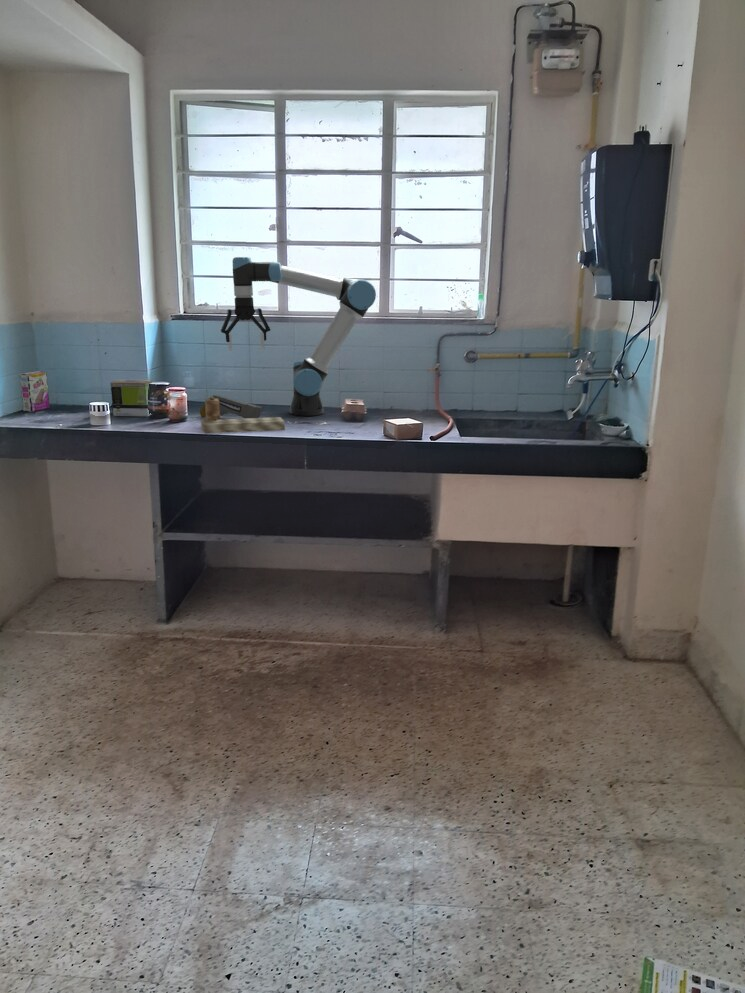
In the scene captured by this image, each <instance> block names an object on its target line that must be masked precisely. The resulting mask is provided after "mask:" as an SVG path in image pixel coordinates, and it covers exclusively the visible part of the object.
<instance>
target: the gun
mask: <svg viewBox="0 0 745 993" xmlns="http://www.w3.org/2000/svg"><path fill="white" fill-rule="evenodd" d="M211 397H214V399H218V400H219V407H220V417H223V416H224V415H227V414H229V413H230V414H232V415H236V416H238V417H242V419H245V418H260V416H261V413H262V411H263V407H262V406H260V405H256V404H253V403H249V402H248V403H245V402H243V401H240V400H236V399H232V398H229V397H225V396H223V395H219V394H213V395H212V396H211ZM207 399H210V397H208V398H207ZM199 415H200V416H201V417H202V418H206V409H205V403H204V404H203V405H202V407H201V408H200V411H199Z"/></svg>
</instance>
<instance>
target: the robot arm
mask: <svg viewBox="0 0 745 993" xmlns="http://www.w3.org/2000/svg"><path fill="white" fill-rule="evenodd" d="M232 277H233V278H232V280H233V294H234V297H235V298H234V309H230V308H228V309H227V310H226V311H227V312H226V313H227V314H226V316H225V318H224V321H223V325H222V327H221V329H220V332H221V333H222V334H224V335H225V341H226V342H227V343H228V350H229V351H233V345H232V344H233V342H232V334H231V332H232V330H234V328H235V326H236V325H237V323H238V322H239V321H252V323H254V324H255V325H256V326H257V327H258V328H259V330H260V331H261V332H260V344H261V345H260V348H261V349H262V350H265V341H267V332H270V331H271V328H270V326H269V324H268V322H267V320H266V318H265V317H264V314H263V311H262V308H255V307H254V298H253V296H254V291H253V282H270V283H275V284H280V285H284V286H287V287H292V288H297V289H300V290H301V289H302V290H305V291H310V292H314V293H317V294H321V295H327V296H330V297H334V298H336V300H337V301H339V309H338V311H337V312H336V314H335V316H334V317H333V319H332V320H331V322H330V324H329V325H328V327H327V328H326V331H325V332H324V334H323V335H322V336H321V339H320V341H318V343H317V345H316V347H315V349H314V350H313V351H312V353H311V355H310V356H309V357H304V359H303V361H301V360H300V361H297V360H296V361H294V362H293V364H292V365H293V366H292V369H293V372H292V374H293V375H292V376H293V379H292V380H293V381H292V383H293V397H292V400H291V401H290V402H291V404H290V407H289V413H290V414H291V415H293V416H304V417H306V416H309V417H310V416H318V415H319V416H320V415H323V414H324V406H323V402H322V399H321V397H320V392H321V389H322V386H323V382H324V381H325V379H326V378H327V376H328V375H329V369H328V367H329V366H330V365H331V363H332V361H333V360H334V358H335V356H336V354H337V353H338V351H340V348H341V347H342V345H343V343H344V342H345V340H346V339H347V337H348V336H349V334H350V332H351V330H352V329H353V327H354V326H355V325H356V322H357V321H358V320H359V319H362V318H364V316H365V315H366V313H367V312H368V310H369V308H370V307H372V306H373V305H374V303H375V301H376V297H377V292H376V288H375V286H374V284H372V283H371V281H369V280H366V278H365V279H364V278H348V277H341V278H336V277H332V276H327V275H323V274H320V273H316V272H311V271H307V270H303V269H299V268H296V267H295V268H294V267H290V266H286V265H282V264H281V262H279V261H259V262H256V261H252V259H251V257H250V256H249V257H247V256H241V257H240V256H236V257H233V258H232ZM255 313H256V315H258V317H259V318H260V322H261V323H262V324H263V325H262V324H261V323H260V322H259V321H258V320H257V319H256V318H255V317H254V314H255ZM234 314H235V315H236V316H235V318H233V319H234V320H233V321H232V322H231V324H230V325H229V323H230V320H231V317H232V316H233V315H234ZM228 325H229V326H228ZM263 326H264V327H263Z"/></svg>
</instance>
